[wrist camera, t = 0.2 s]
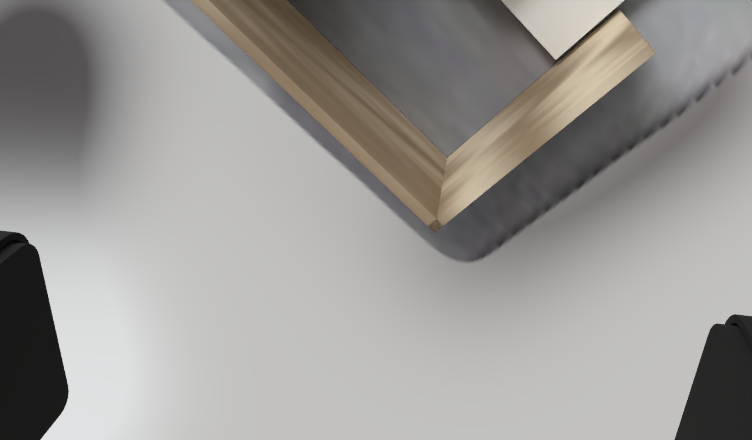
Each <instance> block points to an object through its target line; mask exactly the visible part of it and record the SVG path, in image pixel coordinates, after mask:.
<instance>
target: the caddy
mask: <svg viewBox="0 0 752 440" xmlns="http://www.w3.org/2000/svg"><path fill="white" fill-rule="evenodd" d="M191 1H192V2H193V3H194V4H195V5H196V6H197V7H198V8H199V9H200V10H201V11H202V12H203V13H204V14H205V15H206V16H208V17H209V18H210V19H211V20H212V21H213V22H214V23H215V24H216V25H217V26H218V27H219V28H220V29H221V30H222V31H223V32H224V33H225V34H226V35H228V36H229V37H230V38H231V39H232V40H233V41H234V42H235V43H236V44H237V45H238V46H239V47H240V48H241V49H242V50H243V51H244V52H245V53H246V54H247V55H249V56H250V57H251V58H252V59H253V60H254V61H255V62H256V63H257V64H258V65H259V66H260V67H261V68H262V69H263V70H264V71H265V72H266V73H267V74H269V75H270V76H271V77H272V78H273V79H274V80H275V81H276V82H277V83H278V84H279V85H280V86H281V87H282V88H283V89H284V90H285V91H286V92H287V93H288V94H290V95H291V96H292V97H293V98H294V99H295V100H296V101H297V102H298V103H299V104H300V105H301V106H302V107H303V108H304V109H305V110H306V111H307V112H308V113H310V114H311V115H312V116H313V117H314V118H315V119H316V120H317V121H318V122H319V123H320V124H321V125H322V126H323V127H324V128H325V129H326V130H327V131H328V132H329V133H331V134H332V135H333V136H334V137H335V138H336V139H337V140H338V141H339V142H340V143H341V144H342V145H343V146H344V147H345V148H346V149H347V150H348V151H349V152H351V153H352V154H353V155H354V156H355V157H356V158H357V159H358V160H359V161H360V162H361V163H362V164H363V165H364V166H365V167H366V168H367V169H368V170H369V171H370V172H372V173H373V174H374V175H375V176H376V177H377V178H378V179H379V180H380V181H381V182H382V183H383V184H384V185H385V186H386V187H387V188H388V189H389V190H390V191H392V192H393V193H394V194H395V195H396V196H397V197H398V198H399V199H400V200H401V201H402V202H403V203H404V204H405V205H406V206H407V207H408V208H409V209H410V210H411V211H413V212H414V213H415V214H416V215H417V216H418V217H419V218H420V219H421V220H422V221H423V222H424V223H425V224H426V225H427V226H428V227H429V228H430V229H431V230H433V231H434V232H436V231H437V230H439V229H440V228H441V227H442V226H444V225H445V224H446V223H447V222H448V221H450V220H451V219H452V218H453V217H455V216H456V215H457V214H458V213H460V212H461V211H462V210H463V209H464V208H466V207H467V206H468V205H469V204H471V203H472V202H473V201H474V200H476V199H477V198H478V197H479V196H480V195H482V194H483V193H484V192H485V191H487V190H488V189H489V188H490V187H492V186H493V185H494V184H495V183H496V182H498V181H499V180H500V179H501V178H503V177H504V176H505V175H506V174H508V173H509V172H510V171H511V170H512V169H514V168H515V167H516V166H517V165H519V164H520V163H521V162H522V161H524V160H525V159H526V158H527V157H528V156H530V155H531V154H532V153H533V152H535V151H536V150H537V149H538V148H540V147H541V146H542V145H543V144H544V143H546V142H547V141H548V140H549V139H551V138H552V137H553V136H554V135H556V134H557V133H558V132H559V131H560V130H562V129H563V128H564V127H565V126H567V125H568V124H569V123H570V122H572V121H573V120H574V119H575V118H576V117H578V116H579V115H580V114H581V113H583V112H584V111H585V110H586V109H588V108H589V107H590V106H591V105H592V104H594V103H595V102H596V101H597V100H599V99H600V98H601V97H602V96H604V95H605V94H606V93H607V92H608V91H610V90H611V89H612V88H613V87H615V86H616V85H617V84H618V83H620V82H621V81H622V80H623V79H624V78H626V77H627V76H628V75H629V74H631V73H632V72H633V71H634V70H636V69H637V68H638V67H639V66H640V65H642V64H643V63H644V62H645V61H647V60H648V59H649V58H650V57H652V56H653V55H654V54H655V53H656V52H655V51H654V50H653V49H652V47H651V46H650V45H649V44H648V43H647V41H646V40H645V39H644V38H643V37H642V35H641V34H640V33H639V32H638V31H637V29H636V28H635V27H634V26H633V25H632V23H631V22H630V21H629V20H628V19H627V18H626V16H625V15H624V14H623V13H622V12H621V11H620V9H618V10H617V11H616V12H615V13H614V14H612V15H611V16H610V17H609V18H608V19H607V20H606V21H604V22H603V23H602V24H601V25H600V26H599V27H598V28H596V29H595V30H594V31H593V32H592V33H591V34H589V35H588V36H587V37H586V38H585V39H584V40H583V41H581V42H580V43H579V44H578V45H577V46H576V47H574V48H573V49H572V50H571V51H570V52H569V53H568V54H566V55H565V56H564V57H563V58H562V59H561V60H559V61H558V62H557V63H556V64H555V65H554V66H553V67H551V68H550V69H549V70H548V71H547V72H546V73H545V74H543V75H542V76H541V77H540V78H539V79H538V80H536V81H535V82H534V83H533V84H532V85H531V86H530V87H528V88H527V89H526V90H525V91H524V92H523V93H521V94H520V95H519V96H518V97H517V98H516V99H515V100H513V101H512V102H511V103H510V104H509V105H508V106H506V107H505V108H504V109H503V110H502V111H501V112H500V113H498V114H497V115H496V116H495V117H494V118H493V119H492V120H490V121H489V122H488V123H487V124H486V125H485V126H483V127H482V128H481V129H480V130H479V131H478V132H477V133H475V134H474V135H473V136H472V137H471V138H470V139H468V140H467V141H466V142H465V143H464V144H463V145H462V146H460V147H459V148H458V149H457V150H456V151H455V152H453V153H452V154H451V155H450V156H449V157H448V158H446V157H445V156H444V155H443V154H442V153H441V152H440V151H439V150H438V149H437V148H436V147H435V146H434V145H433V144H432V143H431V142H430V141H429V140H428V139H427V138H426V137H425V136H424V135H423V134H422V133H421V132H420V131H419V130H418V129H417V128H416V127H415V126H414V125H413V124H412V123H411V122H410V121H409V120H408V119H407V118H406V117H405V116H404V115H403V114H402V113H401V112H400V111H399V110H398V109H397V108H396V107H395V106H394V105H393V104H392V103H391V102H390V101H389V100H388V99H387V98H386V97H385V96H384V95H383V94H382V93H381V92H380V91H379V90H378V89H377V88H376V87H375V86H374V85H373V84H372V83H371V82H370V81H369V80H368V79H367V78H366V77H365V76H364V75H363V74H362V73H361V72H360V71H359V70H358V69H357V68H356V67H355V66H354V65H353V64H351V63H350V62H349V61H348V60H347V59H346V58H345V57H344V56H343V55H342V54H341V53H340V52H339V51H338V50H337V49H336V48H335V47H334V46H333V45H332V44H331V43H330V42H329V41H328V40H327V39H326V38H325V37H324V36H323V35H322V34H321V33H320V32H319V31H318V30H317V29H316V28H315V27H314V26H313V25H312V24H311V23H310V22H309V21H308V20H307V19H306V18H305V17H304V16H303V15H302V14H301V13H300V12H299V11H298V10H297V9H296V8H295V7H294V6H293V5H292V4H291V3H290V2H289V1H288V0H191Z"/></svg>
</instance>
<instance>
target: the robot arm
mask: <svg viewBox="0 0 752 440" xmlns="http://www.w3.org/2000/svg"><path fill="white" fill-rule="evenodd" d="M67 398H68V384H67V379H66V375H65V370H64V366H63V361H62V357H61V352H60V348H59V343H58V339H57V334H56V330H55V325H54V321H53V316H52V312H51V307H50V303H49V298H48V294H47V290H46V285H45V280H44V277H43V272H42V267H41V262H40V258H39V254H38V251H37V249H36V248H35V247H34V246H33V245H31V244H29V242H28V240H27V239H26V237H25V236H24V235H22V234H20V233H16V232H7V231H0V440H40V439H41V438H42V437H43V435H44V434H45V433H46V432H47V430H48V429H49V428H50V427H51V425H52V424H53V423H54V422H55V421H56V419H57V418H58V417H59V415H60V414H61V413H62V411H63V409H64V407H65V405H66V402H67ZM675 440H752V316H744V315H732V316H730V317H729V319H728V320H727V321H726V323H725V325H724V324H715V325H713V326H712V328H711V329H710V332H709V335H708V337H707V340H706V344H705V347H704V350H703V353H702V356H701V359H700V362H699V365H698V368H697V372H696V375H695V378H694V381H693V384H692V387H691V390H690V394H689V397H688V400H687V403H686V406H685V409H684V412H683V415H682V419H681V422H680V425H679V428H678V431H677V434H676V437H675Z"/></svg>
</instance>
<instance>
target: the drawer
mask: <svg viewBox="0 0 752 440" xmlns="http://www.w3.org/2000/svg"><path fill="white" fill-rule="evenodd" d="M501 1H502V2H503V3H504V4H505V5H506V6H507V7H508V9H509V10H510V11H511V12H512V13H513V14H514V15H515V16H516V17H517V18H518V19H519V21H520V22H521V23H522V24H523V25H524V26H525V27H526V28H527V29H528V30H529V31H530V33H531V34H532V35H533V36H534V37H535V38H536V39H537V40H538V41H539V42H540V43H541V45H542V46H543V47H544V48H545V49H546V50H547V51H548V52H549V53H550V54H551V55H552V57H553V58H554V59H555V60H556V59H558V58H559V57H560V56H561V55H562V54H563V53H564V52H566V51H567V50H568V49H569V48H570V47H571V46H572V45H574V44H575V43H576V42H577V41H578V40H579V39H581V38H582V37H583V36H584V35H585V34H586V33H587V32H589V31H590V30H591V29H592V28H593V27H594V26H595V25H597V24H598V23H599V22H600V21H601V20H602V19H603V18H605V17H606V16H607V15H608V14H609V13H610V12H612V11H613V10H614V9H615V8H616V7H617V6H618V5H620V4H621V3H622V2H623V1H624V0H501Z"/></svg>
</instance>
